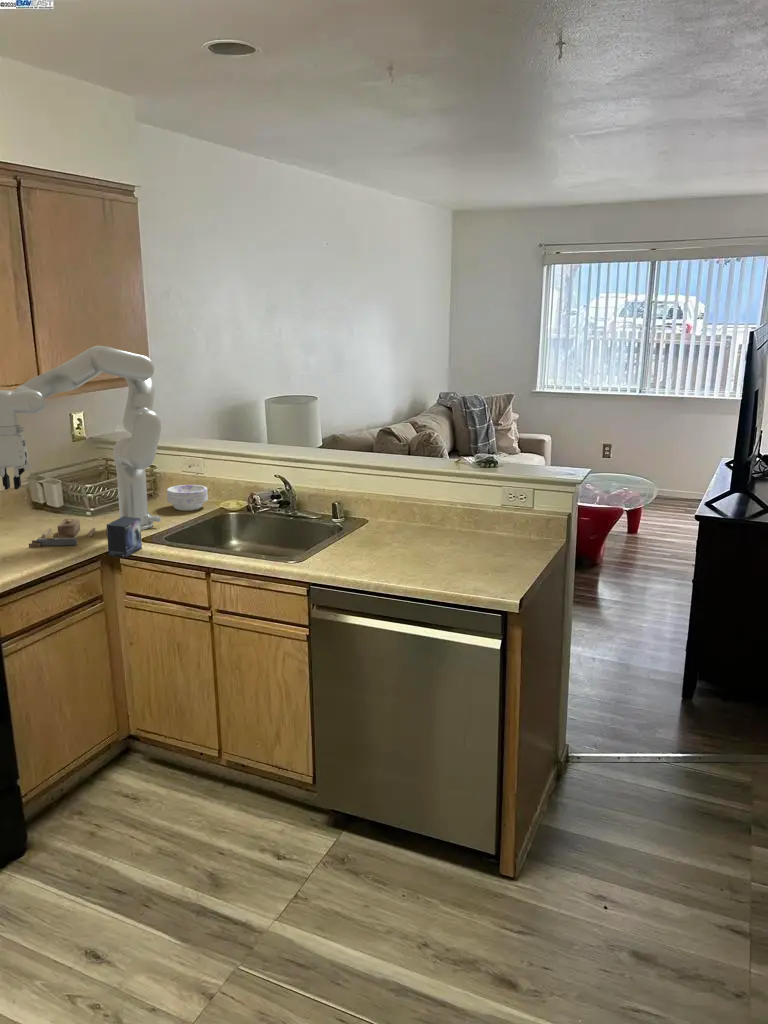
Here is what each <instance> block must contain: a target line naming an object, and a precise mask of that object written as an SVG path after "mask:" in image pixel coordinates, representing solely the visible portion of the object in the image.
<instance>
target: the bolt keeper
mask: <svg viewBox="0 0 768 1024" xmlns="http://www.w3.org/2000/svg"><path fill="white" fill-rule="evenodd" d="M28 548H41V544H40V543H37V539H36V540H35V539H34V540H33V539H32V540H31V543H28Z"/></svg>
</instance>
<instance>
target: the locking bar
mask: <svg viewBox="0 0 768 1024" xmlns="http://www.w3.org/2000/svg"><path fill="white" fill-rule="evenodd" d="M36 540H37V543H40V544H41V546H42V547H43V546H44V547H45V546H49V545H50V546H76V545H78V537H77V536H76V537H74V538H58V537H54V534H51V533H50V534H49V535H47V537H46V538H43V537H38V538H37V539H36ZM50 546H49V547H50Z"/></svg>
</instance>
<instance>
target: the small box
mask: <svg viewBox="0 0 768 1024" xmlns="http://www.w3.org/2000/svg"><path fill="white" fill-rule="evenodd" d="M106 533H107V535H106V537H107V538H106V539H107V556H108V557H112V558H113V557H115V558H123V559H124V558H127V557H129V556H131V555H134V554H135V553H136V552H138V551H140V550H142V549H143V546H142V545H143V543H142V530H141V518H133V517H125V516H123V517H121V518H120V517H118V518H117V519H115V520H113V521H111V522H109V523H106Z"/></svg>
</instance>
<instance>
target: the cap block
mask: <svg viewBox="0 0 768 1024" xmlns="http://www.w3.org/2000/svg"><path fill="white" fill-rule="evenodd" d="M79 531H80V532H81V521H80V518H63V520H62V521H61V522H60V523H59V524H58V525H57V535H58V537H57V538H74V537H75V536H76V535H77V536H78V534H80V532H79ZM77 536H76V537H77Z"/></svg>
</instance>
